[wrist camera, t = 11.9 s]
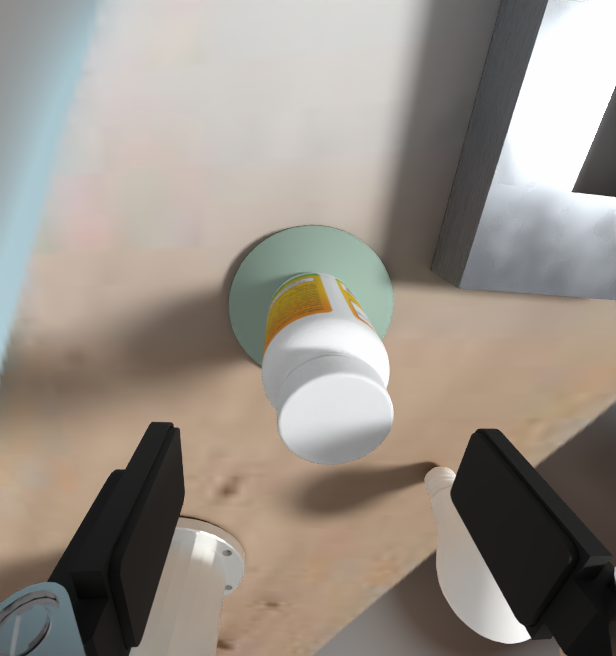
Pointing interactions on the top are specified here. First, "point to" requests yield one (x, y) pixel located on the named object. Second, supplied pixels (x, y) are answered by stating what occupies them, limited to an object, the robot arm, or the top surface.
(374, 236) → the top surface
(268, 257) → the pad
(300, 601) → the top surface
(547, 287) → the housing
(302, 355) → the supplement bottle
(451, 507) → the lightbulb
